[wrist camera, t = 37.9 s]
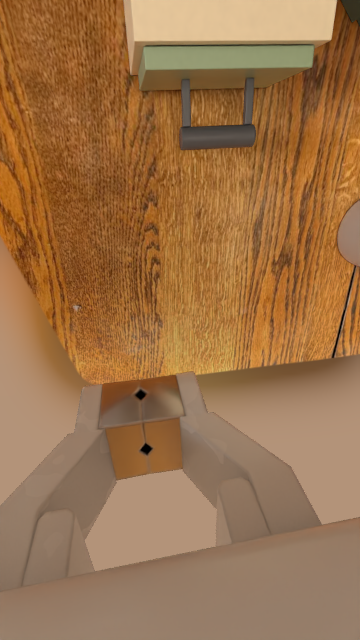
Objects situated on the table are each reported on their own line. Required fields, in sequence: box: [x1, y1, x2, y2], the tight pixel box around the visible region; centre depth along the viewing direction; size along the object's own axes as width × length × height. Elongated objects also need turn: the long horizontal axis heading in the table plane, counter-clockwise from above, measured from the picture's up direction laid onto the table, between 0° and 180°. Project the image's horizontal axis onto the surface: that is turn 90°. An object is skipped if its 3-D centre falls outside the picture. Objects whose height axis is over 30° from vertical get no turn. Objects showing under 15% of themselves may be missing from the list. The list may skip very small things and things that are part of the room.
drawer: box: [138, 44, 315, 150], centre depth 22 cm, size 18×11×8 cm, turn 2°
